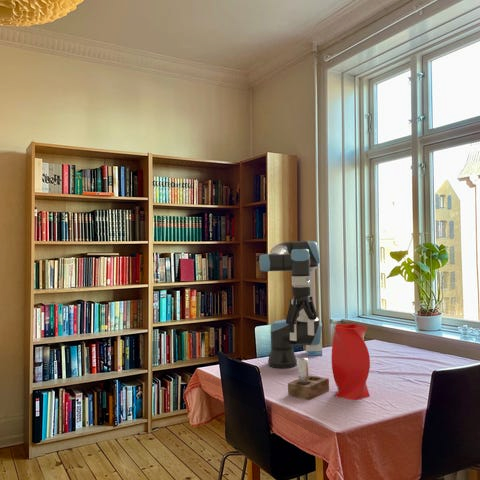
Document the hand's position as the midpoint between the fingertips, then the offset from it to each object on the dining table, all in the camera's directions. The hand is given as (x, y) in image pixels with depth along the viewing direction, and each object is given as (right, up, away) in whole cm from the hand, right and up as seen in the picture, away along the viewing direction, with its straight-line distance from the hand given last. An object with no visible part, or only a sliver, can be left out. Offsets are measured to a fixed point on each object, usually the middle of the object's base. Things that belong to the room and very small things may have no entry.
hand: (302, 337), depth 191 cm
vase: (+20, -23, -1) cm, 30 cm away
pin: (0, -22, -1) cm, 22 cm away
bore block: (+3, -23, +2) cm, 24 cm away
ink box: (+17, -26, +76) cm, 82 cm away
